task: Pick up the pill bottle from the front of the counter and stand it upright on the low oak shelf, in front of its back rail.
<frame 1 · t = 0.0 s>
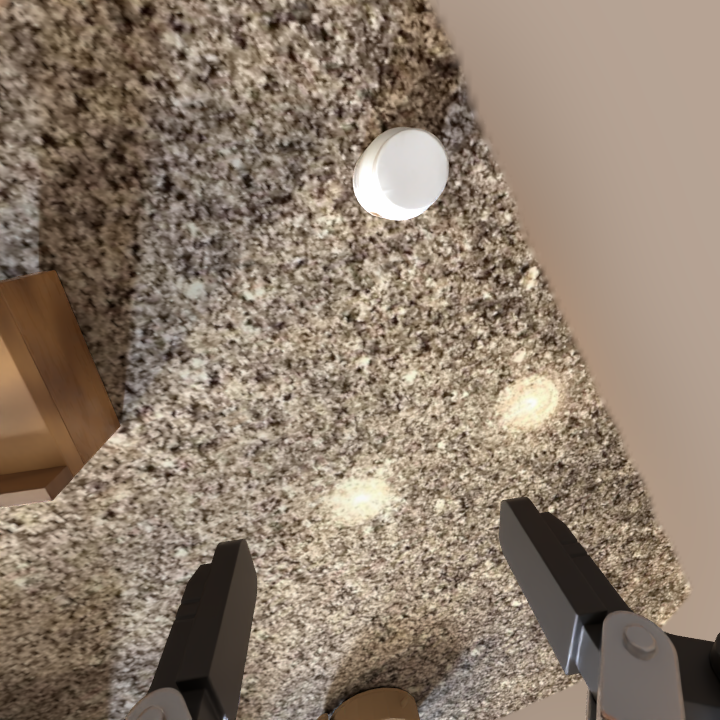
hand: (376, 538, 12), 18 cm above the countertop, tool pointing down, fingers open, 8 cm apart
pill bottle: (385, 181, 24), on the countertop
alarm clock: (361, 714, 48), on the countertop
shelf: (19, 363, 26), on the countertop
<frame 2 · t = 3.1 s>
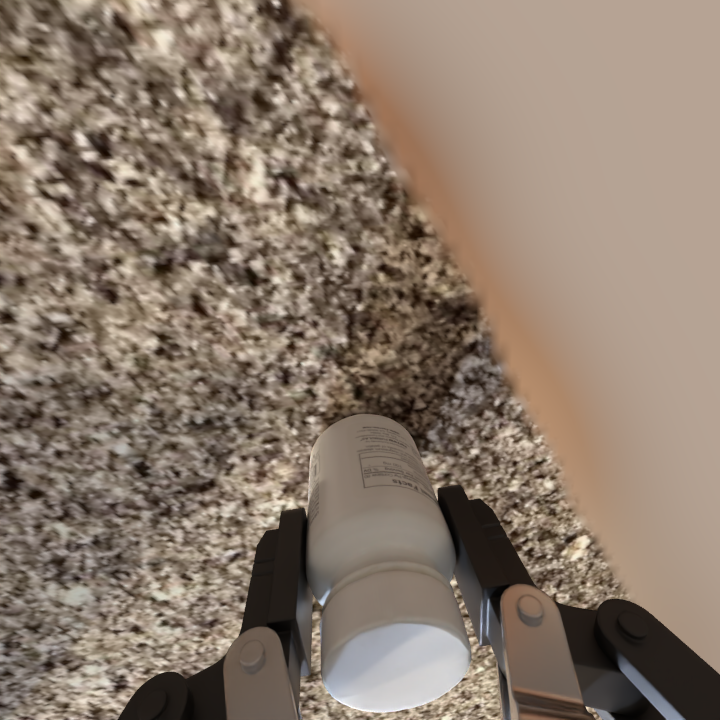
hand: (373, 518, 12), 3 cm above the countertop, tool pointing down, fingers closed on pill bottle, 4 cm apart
pill bottle: (363, 453, 16), on the countertop, touching gripper
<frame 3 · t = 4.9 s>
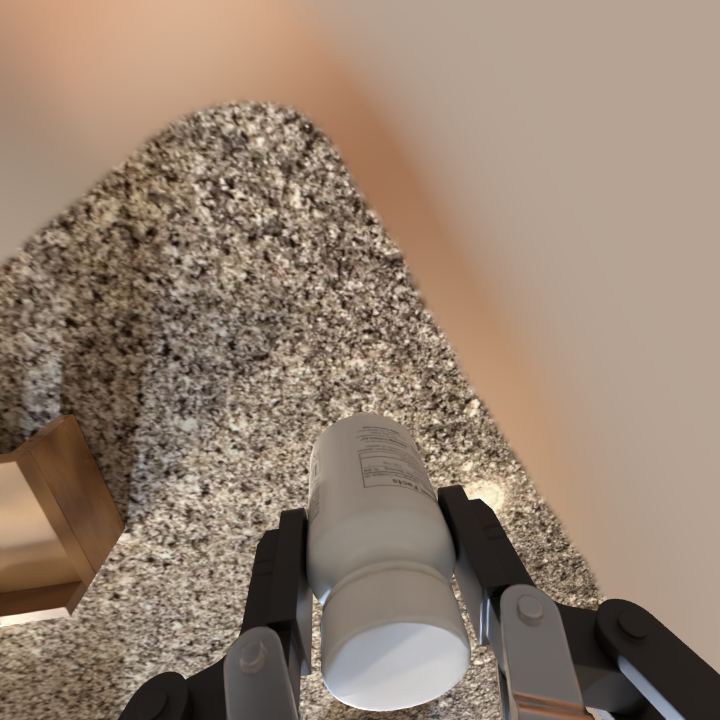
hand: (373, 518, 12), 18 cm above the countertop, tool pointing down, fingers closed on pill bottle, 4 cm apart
pill bottle: (363, 453, 16), point 15 cm above the countertop, touching gripper
shelf: (41, 483, 31), on the countertop
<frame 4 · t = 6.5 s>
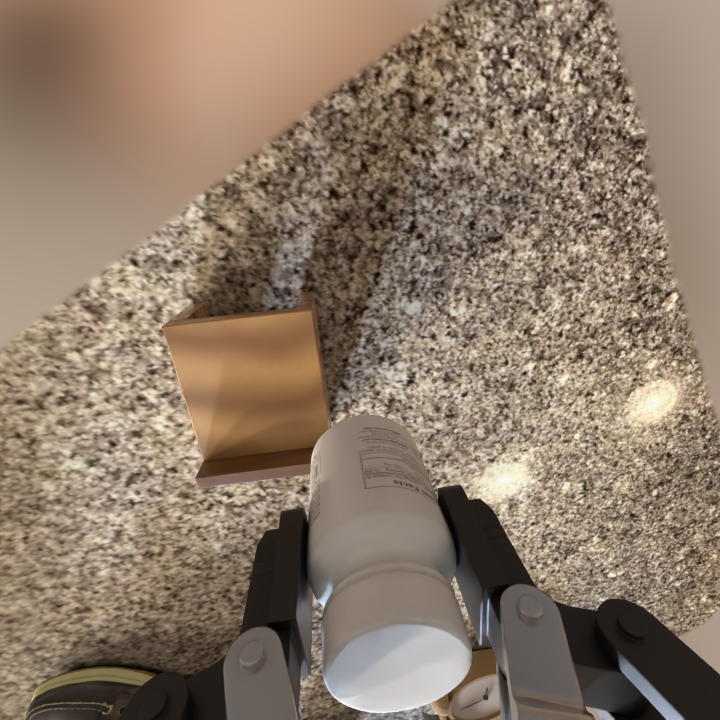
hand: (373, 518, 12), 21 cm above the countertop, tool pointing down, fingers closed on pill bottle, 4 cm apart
pill bottle: (363, 454, 16), point 18 cm above the countertop, touching gripper
alarm clock: (463, 673, 54), on the countertop
boat shoe: (150, 684, 49), on the countertop
shelf: (266, 364, 33), on the countertop
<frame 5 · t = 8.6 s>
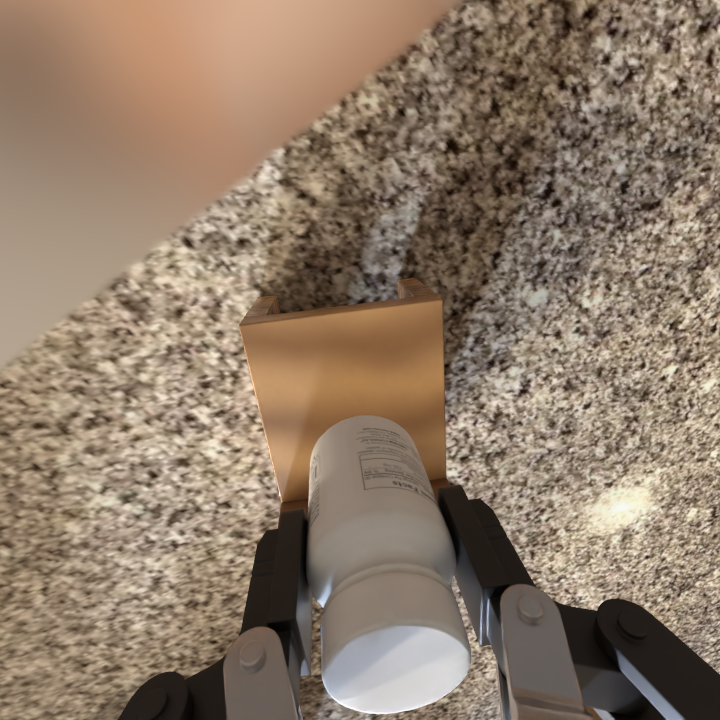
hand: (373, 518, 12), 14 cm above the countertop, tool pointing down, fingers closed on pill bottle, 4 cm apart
pill bottle: (363, 455, 16), point 11 cm above the countertop, touching gripper
shelf: (348, 372, 26), on the countertop
when the fingers open (9 cm above the countertop, at t = 10.2 s): pill bottle stays where it is, resting on shelf.
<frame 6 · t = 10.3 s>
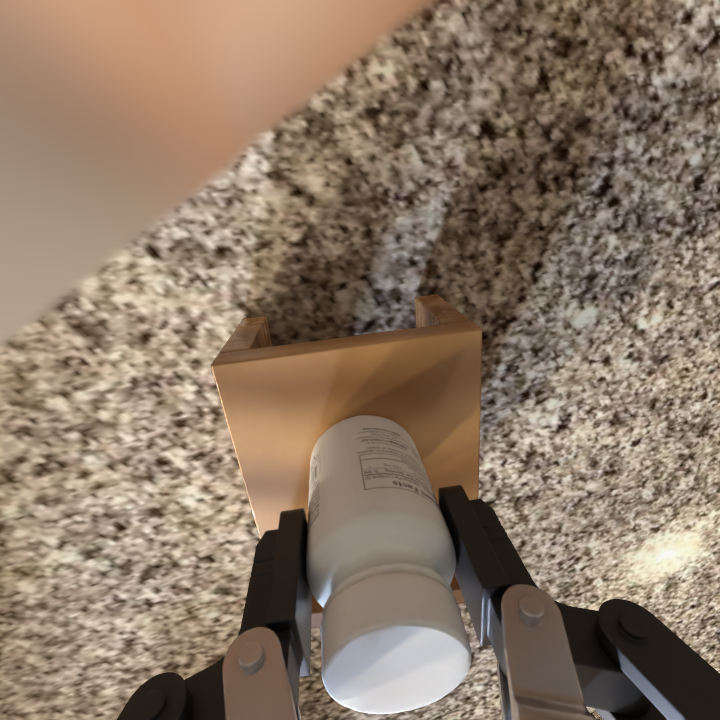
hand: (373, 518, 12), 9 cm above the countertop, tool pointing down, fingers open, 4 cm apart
pill bottle: (363, 454, 16), point 6 cm above the countertop, touching shelf
shelf: (354, 407, 21), on the countertop
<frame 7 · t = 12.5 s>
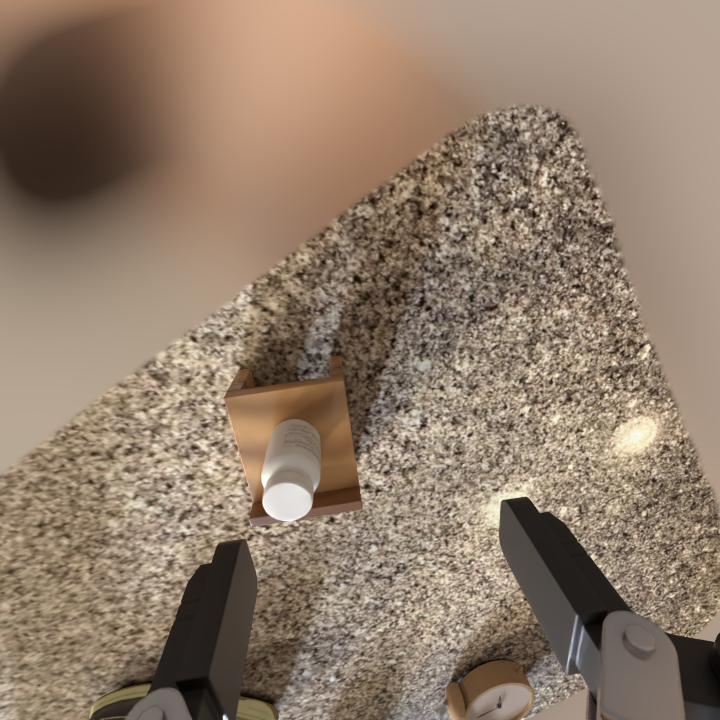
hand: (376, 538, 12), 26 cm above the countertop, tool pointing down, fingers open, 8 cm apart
pill bottle: (295, 438, 33), point 6 cm above the countertop, touching shelf
alarm clock: (478, 684, 59), on the countertop
boat shoe: (193, 699, 54), on the countertop
shelf: (300, 415, 39), on the countertop
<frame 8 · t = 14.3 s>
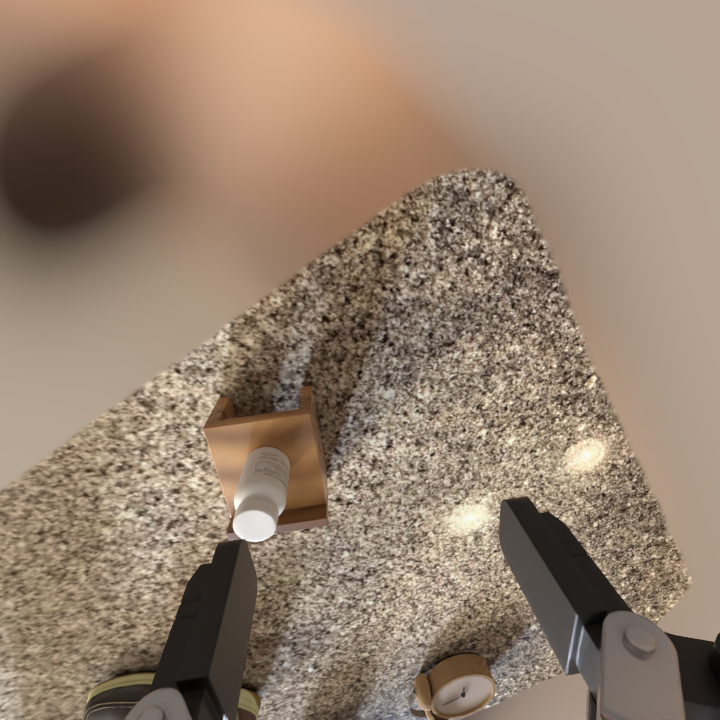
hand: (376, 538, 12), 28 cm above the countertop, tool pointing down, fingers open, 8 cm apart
pill bottle: (268, 462, 37), point 6 cm above the countertop, touching shelf
alarm clock: (446, 675, 64), on the countertop
boat shoe: (182, 687, 58), on the countertop
shelf: (276, 437, 43), on the countertop
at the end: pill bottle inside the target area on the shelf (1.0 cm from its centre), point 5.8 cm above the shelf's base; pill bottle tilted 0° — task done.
